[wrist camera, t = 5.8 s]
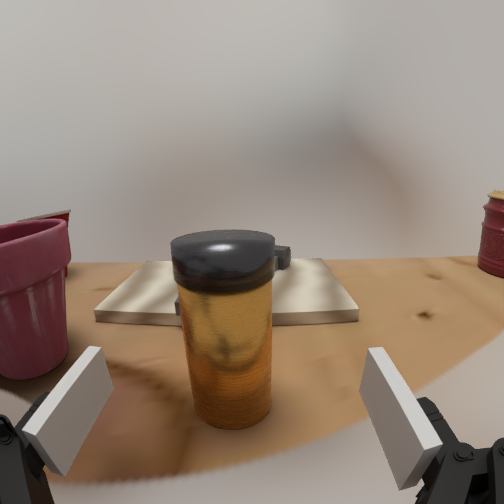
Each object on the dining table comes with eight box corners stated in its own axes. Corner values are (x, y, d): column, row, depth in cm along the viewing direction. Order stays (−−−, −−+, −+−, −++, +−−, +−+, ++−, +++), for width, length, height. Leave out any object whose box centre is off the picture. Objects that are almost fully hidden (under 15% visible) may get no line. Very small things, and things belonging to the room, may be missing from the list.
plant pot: (64, 408, 17) (13, 243, 14) (-43, 385, 15) (-87, 256, 12) (105, 325, 31) (87, 212, 28) (14, 323, 29) (-8, 225, 26)
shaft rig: (94, 323, 31) (86, 287, 30) (147, 269, 51) (144, 244, 50) (359, 323, 31) (363, 284, 30) (321, 266, 51) (321, 240, 50)
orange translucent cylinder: (186, 429, 17) (157, 253, 14) (198, 378, 23) (183, 230, 20) (275, 430, 17) (278, 251, 14) (270, 378, 23) (271, 228, 20)
